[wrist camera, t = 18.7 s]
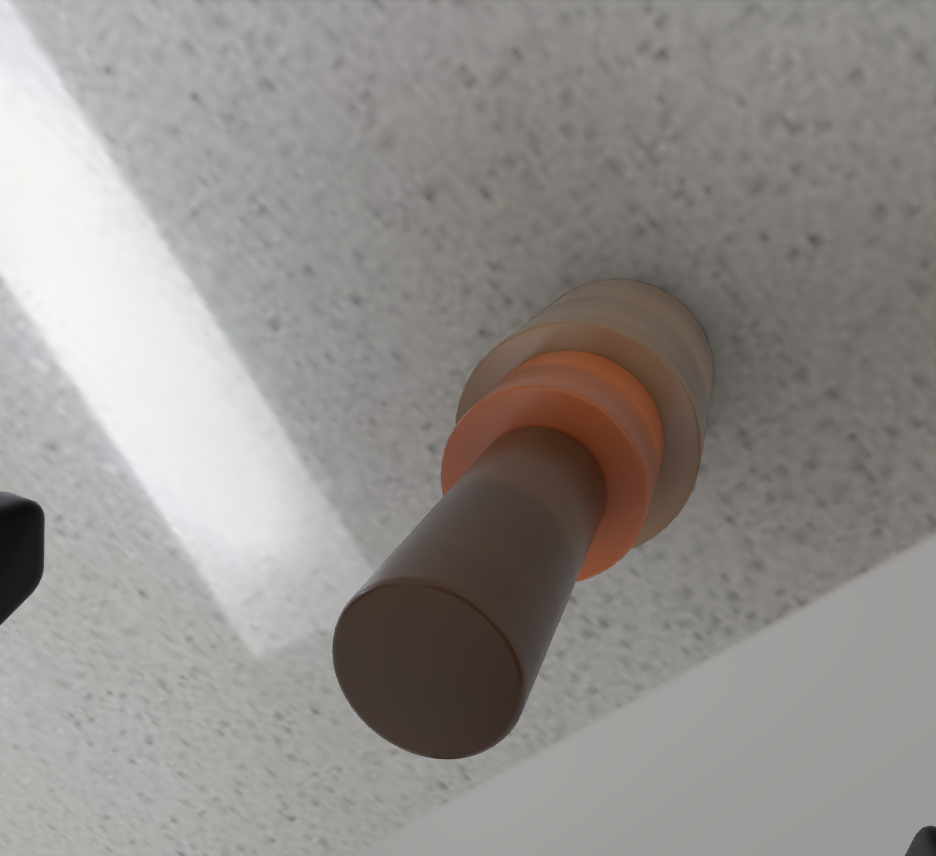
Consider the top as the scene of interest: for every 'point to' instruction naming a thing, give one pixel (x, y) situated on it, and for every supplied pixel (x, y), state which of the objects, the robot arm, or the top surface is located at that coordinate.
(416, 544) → the brown peg with discs
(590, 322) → the stand
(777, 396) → the top surface
